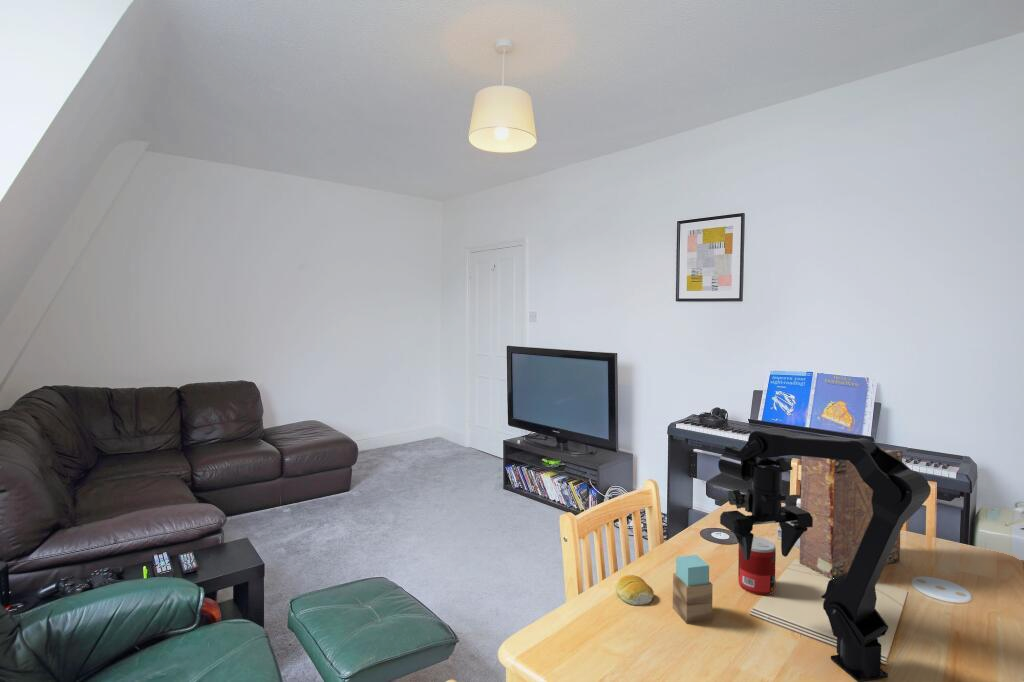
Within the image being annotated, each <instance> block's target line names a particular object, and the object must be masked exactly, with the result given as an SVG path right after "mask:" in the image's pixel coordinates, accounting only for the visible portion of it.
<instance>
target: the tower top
mask: <svg viewBox="0 0 1024 682" xmlns="http://www.w3.org/2000/svg"><path fill="white" fill-rule="evenodd" d="M713 585H714V584H712V582H710V581H709V584H701V585H693V586H687V585H686V584H685V583H684V582H683V581H682V580H681V579H680V578H679V577H678V576H677V575H676V572H674V573H672V592H673V591H674V592H675V593H676V594H677V596H678V597H679V598H680V599H681V600H682V601H683V602H684V603H685V604H686V605H695V604H704V603H712V604H713Z"/></svg>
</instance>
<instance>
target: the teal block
mask: <svg viewBox="0 0 1024 682" xmlns="http://www.w3.org/2000/svg"><path fill="white" fill-rule="evenodd" d="M675 573H676V575H677V576H678V577H679V578H680V579H681V580H682V581H683V582H684V583H685V584H686V585H687V586H693V585H701V584H709V582H710V565H709V564H708V563H707V562H706V561H705V560H704V559H702V558H701V557H700V556H699V555H697V554H693V555H692V554H691V555H684V556H676V557H675Z"/></svg>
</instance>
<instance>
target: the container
mask: <svg viewBox="0 0 1024 682" xmlns="http://www.w3.org/2000/svg"><path fill="white" fill-rule="evenodd" d="M784 502H785V503H784V504H785V505H784V506H797V507H799V508H801V494H789V495H786V500H784ZM776 524H777V526H776V527H777V528H776V531H777V532H776V538H777V539H778V540H780V541H781V527H780V524H779V522H778V523H776ZM793 547H796V548H798V549H800V538H799V539H798V540H797V542H796V543H795V545H794V546H793Z"/></svg>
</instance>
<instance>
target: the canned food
mask: <svg viewBox="0 0 1024 682" xmlns="http://www.w3.org/2000/svg"><path fill="white" fill-rule="evenodd" d="M776 553H777V551H776V544H775V543H774V542H773V541H771V540H769V539H767V538H764V537H760V536H755V535H754V536H753V542H752V548H751V555H750V558H749V561H746V560H745V559H744V557H743V554H742V551H741V548H740V545H739V544H738V568H737V569H738V570H737V571H738V574H737V575H738V576H737V580H738V584H739V587H741V589H743V590H744V591H746V592H748V593H751V594H754V595H757V596H759V595H760V596H767V595H766V594H769V595H771V594H773V593H774V592H775V588H776V559H777V558H776V557H777V556H776ZM773 591H774V592H773ZM772 592H773V593H772ZM770 593H771V594H770Z"/></svg>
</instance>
